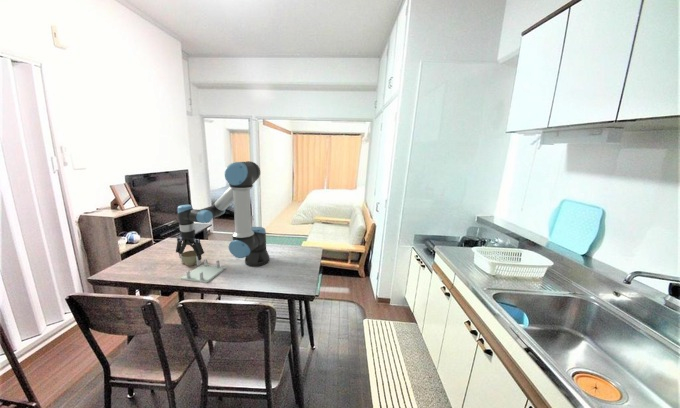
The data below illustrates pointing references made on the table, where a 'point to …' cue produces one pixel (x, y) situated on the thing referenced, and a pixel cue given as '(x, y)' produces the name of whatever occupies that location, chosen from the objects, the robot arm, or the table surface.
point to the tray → (203, 272)
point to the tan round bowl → (189, 258)
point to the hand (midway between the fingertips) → (191, 263)
